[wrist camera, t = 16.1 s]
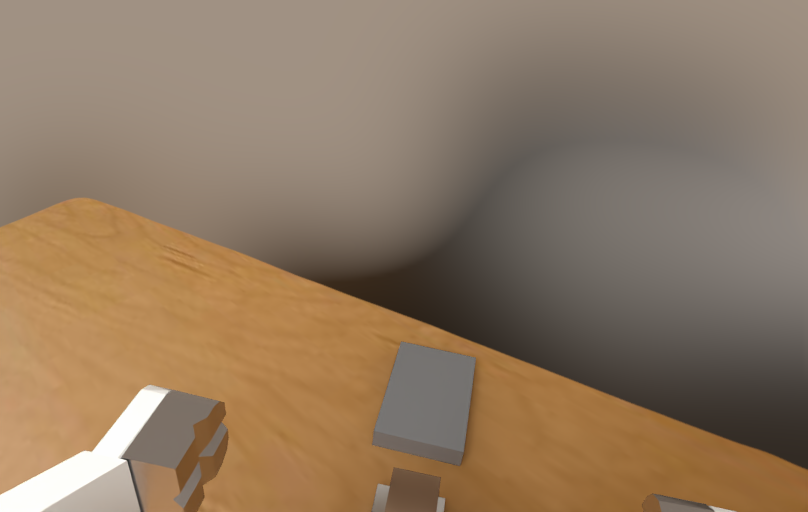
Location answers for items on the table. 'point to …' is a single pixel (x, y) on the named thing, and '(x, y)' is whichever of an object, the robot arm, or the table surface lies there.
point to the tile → (427, 404)
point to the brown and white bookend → (409, 493)
